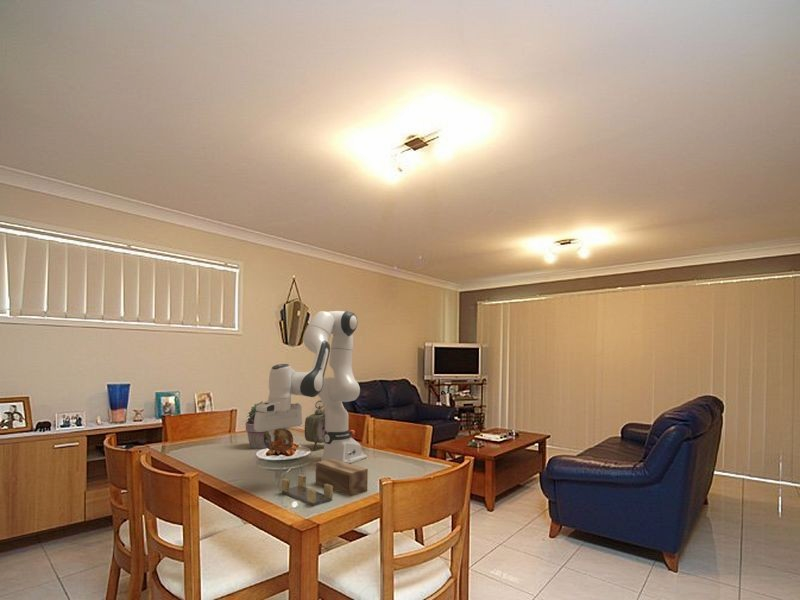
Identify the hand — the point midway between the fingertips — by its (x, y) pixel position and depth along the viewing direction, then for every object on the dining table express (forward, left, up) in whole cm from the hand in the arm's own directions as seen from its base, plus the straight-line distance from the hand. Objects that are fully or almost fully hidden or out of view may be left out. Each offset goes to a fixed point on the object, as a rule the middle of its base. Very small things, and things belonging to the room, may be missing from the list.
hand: (278, 440), depth 179 cm
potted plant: (-28, -65, -17) cm, 73 cm away
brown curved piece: (0, 0, -4) cm, 4 cm away
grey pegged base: (0, +20, -17) cm, 26 cm away
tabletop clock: (-50, -41, -17) cm, 67 cm away
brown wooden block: (-16, +20, -17) cm, 31 cm away
